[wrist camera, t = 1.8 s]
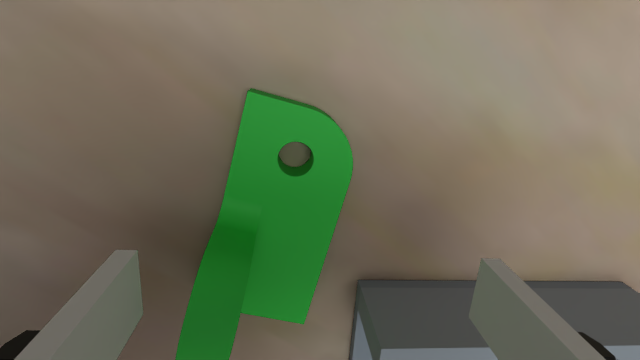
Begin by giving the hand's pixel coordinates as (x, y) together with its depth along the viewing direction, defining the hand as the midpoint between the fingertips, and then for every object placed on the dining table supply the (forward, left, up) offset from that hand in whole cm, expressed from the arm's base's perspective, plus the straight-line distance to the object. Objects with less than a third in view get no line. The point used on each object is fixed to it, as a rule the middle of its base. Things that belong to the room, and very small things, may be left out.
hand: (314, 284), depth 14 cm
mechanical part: (-1, 0, -8) cm, 8 cm away
